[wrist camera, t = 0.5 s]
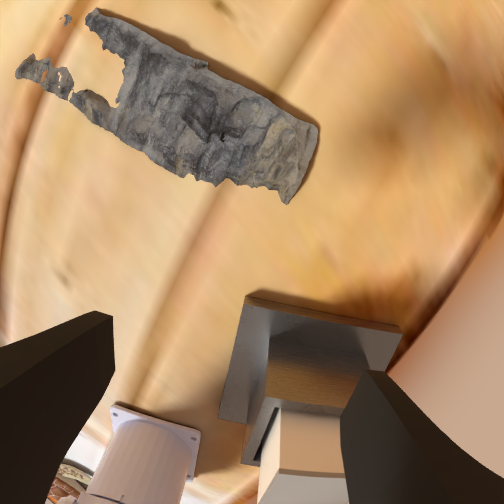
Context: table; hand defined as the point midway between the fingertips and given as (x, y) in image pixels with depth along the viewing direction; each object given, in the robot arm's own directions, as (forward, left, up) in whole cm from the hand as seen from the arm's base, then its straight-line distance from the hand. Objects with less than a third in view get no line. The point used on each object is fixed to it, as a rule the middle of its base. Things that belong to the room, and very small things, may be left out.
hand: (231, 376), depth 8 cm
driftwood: (+8, +8, -11) cm, 16 cm away
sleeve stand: (-8, -5, -10) cm, 14 cm away
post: (-8, -5, -9) cm, 13 cm away
